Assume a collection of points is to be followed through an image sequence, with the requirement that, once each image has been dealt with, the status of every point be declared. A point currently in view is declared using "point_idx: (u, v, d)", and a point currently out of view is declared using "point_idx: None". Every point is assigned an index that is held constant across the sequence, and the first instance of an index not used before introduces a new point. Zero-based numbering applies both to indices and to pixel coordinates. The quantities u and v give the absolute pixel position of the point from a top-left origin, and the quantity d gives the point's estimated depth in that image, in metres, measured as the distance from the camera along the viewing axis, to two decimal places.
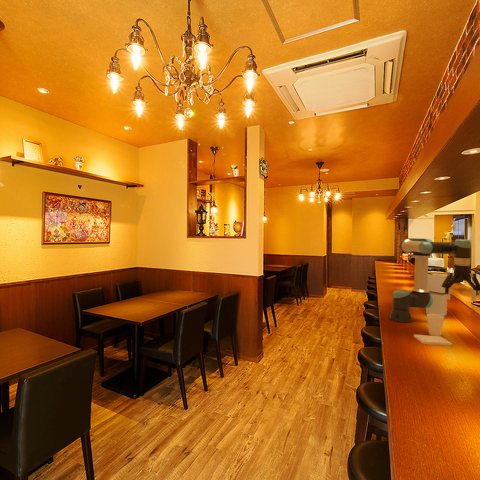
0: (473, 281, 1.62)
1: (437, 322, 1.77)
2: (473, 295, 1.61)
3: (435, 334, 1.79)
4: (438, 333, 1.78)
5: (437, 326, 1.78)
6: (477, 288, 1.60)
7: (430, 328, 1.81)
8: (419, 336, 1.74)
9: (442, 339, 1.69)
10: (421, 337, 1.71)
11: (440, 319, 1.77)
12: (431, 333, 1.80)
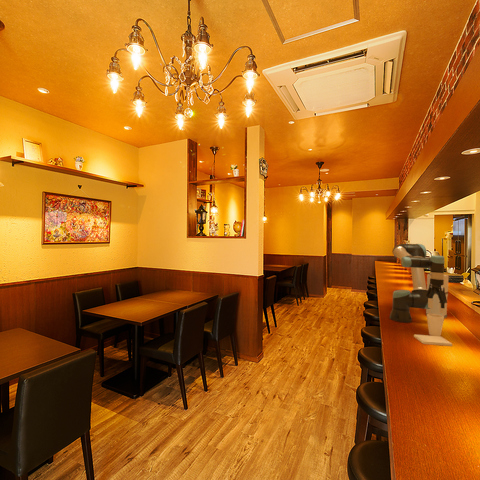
0: None
1: (437, 322, 1.77)
2: None
3: (435, 334, 1.79)
4: (438, 333, 1.78)
5: (437, 326, 1.78)
6: (441, 301, 1.73)
7: (430, 328, 1.81)
8: (419, 336, 1.74)
9: (442, 339, 1.69)
10: (421, 337, 1.71)
11: (440, 319, 1.77)
12: (431, 333, 1.80)
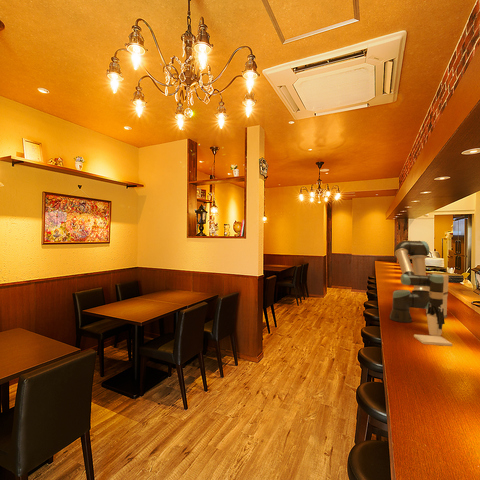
0: None
1: (437, 322, 1.77)
2: None
3: (435, 334, 1.79)
4: None
5: None
6: (438, 322, 1.75)
7: (430, 328, 1.81)
8: (419, 336, 1.74)
9: (442, 339, 1.69)
10: (421, 337, 1.71)
11: None
12: (431, 333, 1.80)
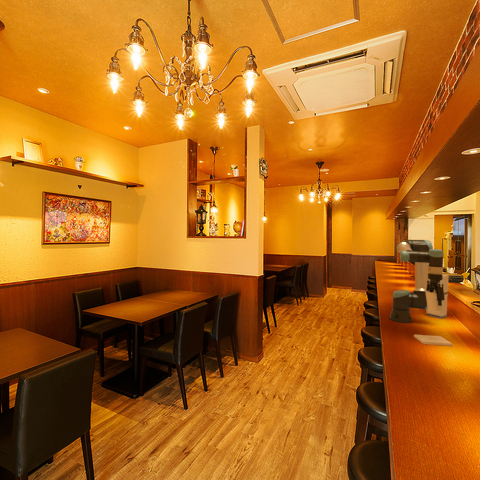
0: None
1: None
2: None
3: (434, 311, 1.68)
4: None
5: None
6: (438, 298, 1.65)
7: (429, 305, 1.70)
8: (419, 336, 1.74)
9: (442, 339, 1.69)
10: (421, 337, 1.71)
11: None
12: (430, 311, 1.70)
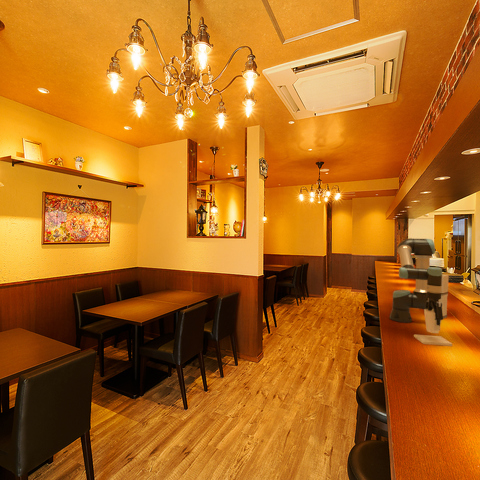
0: None
1: (434, 318, 1.66)
2: None
3: (433, 331, 1.67)
4: None
5: None
6: (436, 318, 1.64)
7: (428, 324, 1.69)
8: (419, 336, 1.74)
9: (442, 339, 1.69)
10: (421, 337, 1.71)
11: None
12: (429, 330, 1.69)
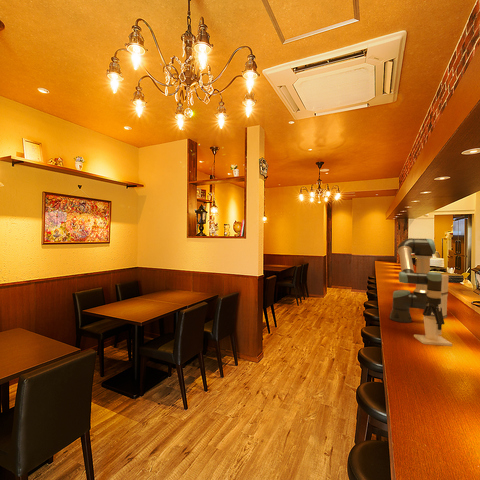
0: None
1: (434, 325, 1.67)
2: None
3: (432, 338, 1.68)
4: (435, 337, 1.67)
5: (434, 329, 1.67)
6: (437, 322, 1.62)
7: (427, 331, 1.70)
8: (419, 336, 1.74)
9: (442, 339, 1.69)
10: (421, 337, 1.71)
11: None
12: (428, 337, 1.69)
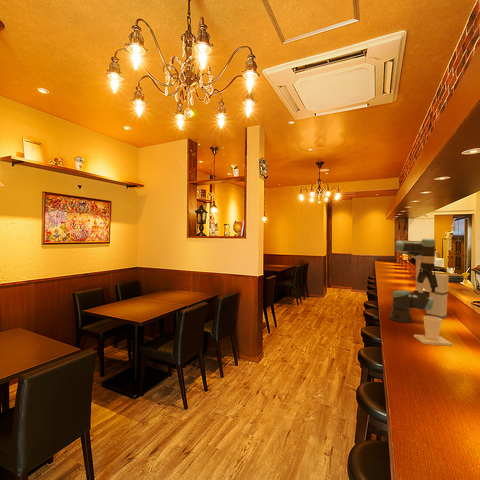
0: None
1: (434, 325, 1.67)
2: None
3: (432, 338, 1.68)
4: (435, 337, 1.67)
5: (434, 329, 1.67)
6: (431, 285, 1.68)
7: (427, 331, 1.70)
8: (419, 336, 1.74)
9: (442, 339, 1.69)
10: (421, 337, 1.71)
11: (437, 322, 1.66)
12: (428, 337, 1.69)
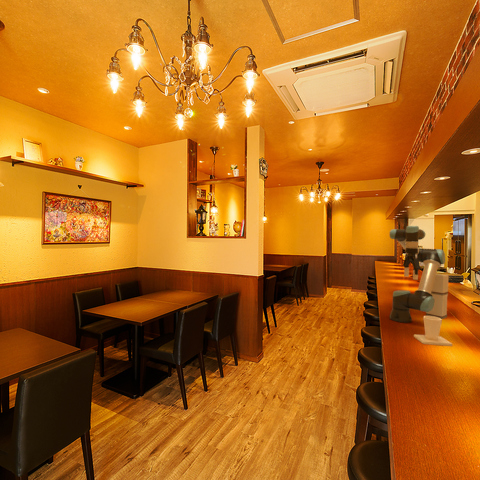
0: None
1: (434, 325, 1.67)
2: None
3: (432, 338, 1.68)
4: (435, 337, 1.67)
5: (434, 329, 1.67)
6: (414, 268, 1.82)
7: (427, 331, 1.70)
8: (419, 336, 1.74)
9: (442, 339, 1.69)
10: (421, 337, 1.71)
11: (437, 322, 1.66)
12: (428, 337, 1.69)
